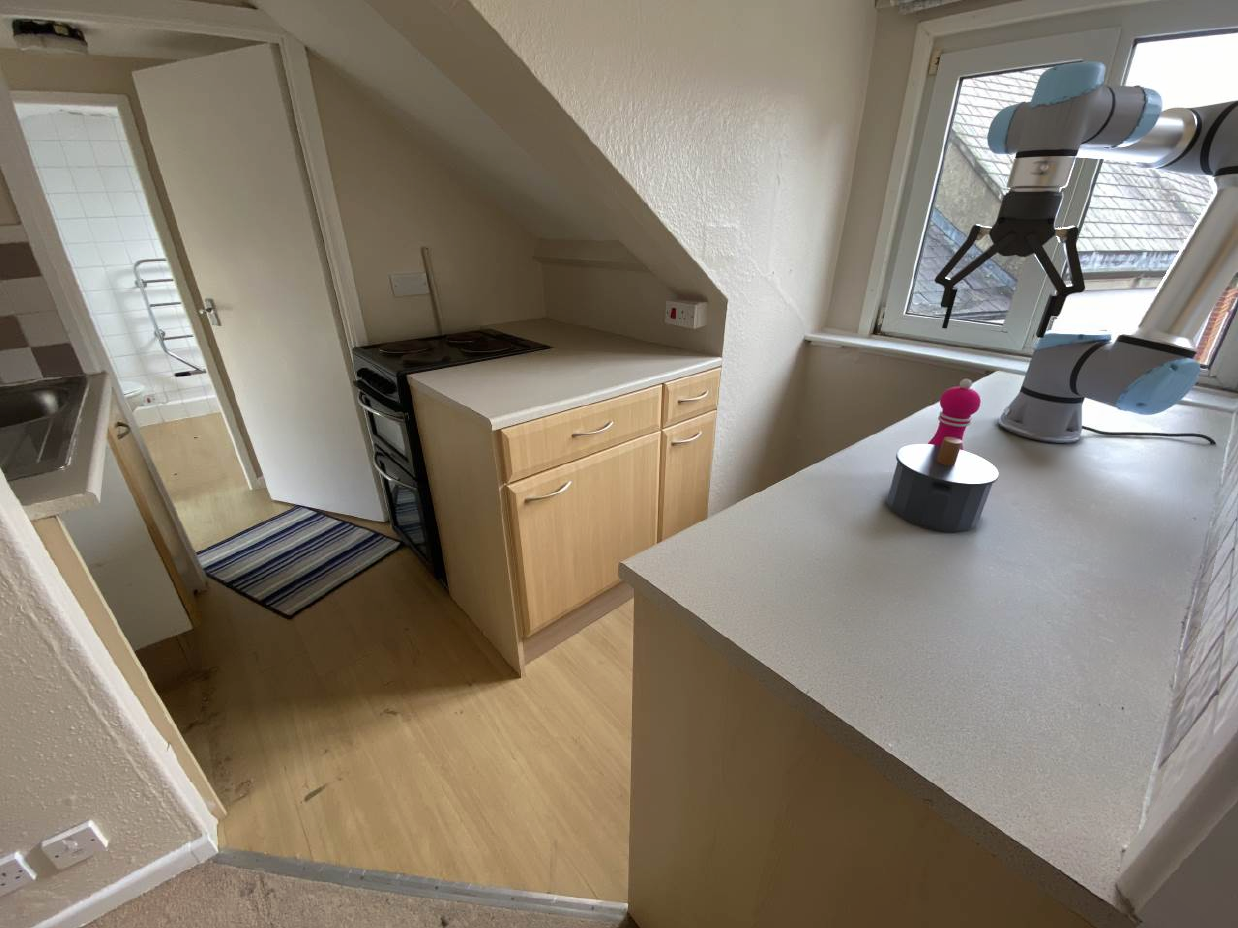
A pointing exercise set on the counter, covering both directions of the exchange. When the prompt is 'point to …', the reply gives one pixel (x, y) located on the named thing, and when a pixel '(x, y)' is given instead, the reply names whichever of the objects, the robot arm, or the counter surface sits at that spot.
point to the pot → (935, 502)
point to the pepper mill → (956, 412)
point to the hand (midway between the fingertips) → (990, 331)
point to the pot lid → (947, 464)
